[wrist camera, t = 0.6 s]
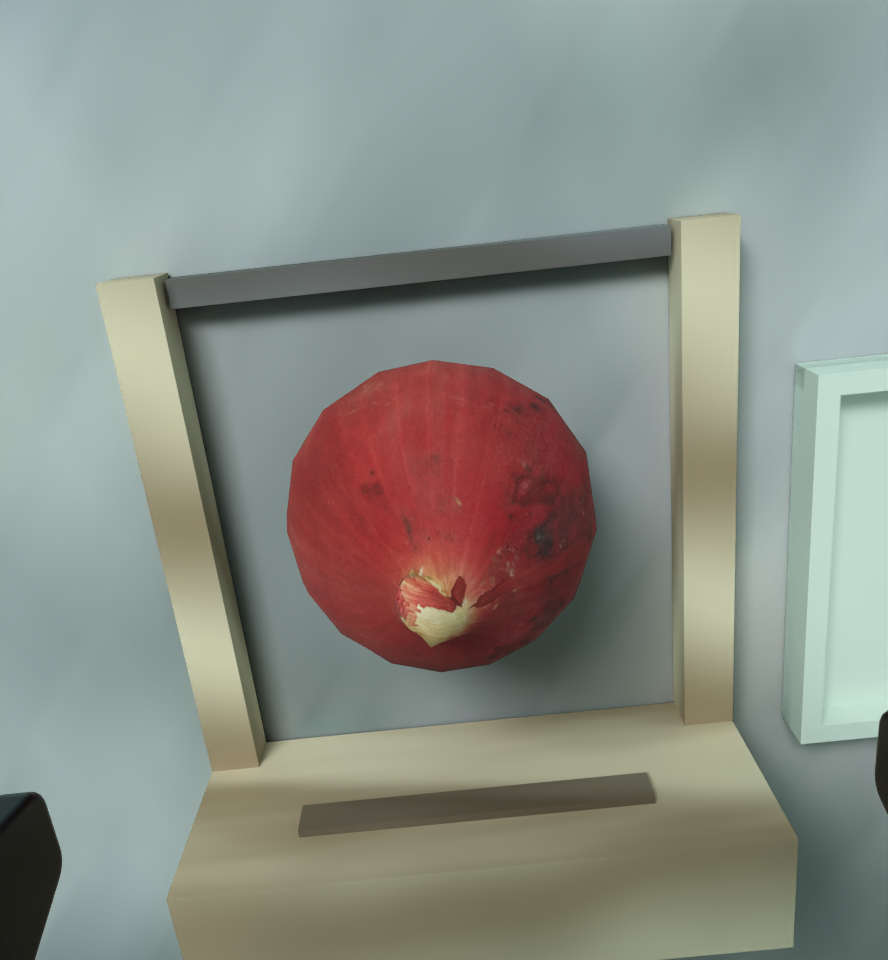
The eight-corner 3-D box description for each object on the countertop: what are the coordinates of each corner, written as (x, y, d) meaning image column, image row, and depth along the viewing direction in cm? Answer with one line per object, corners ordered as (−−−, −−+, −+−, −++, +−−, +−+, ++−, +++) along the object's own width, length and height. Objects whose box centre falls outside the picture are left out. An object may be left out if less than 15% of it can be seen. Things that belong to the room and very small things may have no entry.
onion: (541, 304, 19) (618, 392, 11) (580, 538, 20) (669, 749, 13) (285, 359, 19) (191, 481, 11) (348, 585, 21) (303, 817, 13)
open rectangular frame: (718, 790, 23) (793, 947, 18) (242, 836, 23) (194, 1002, 19) (724, 212, 18) (829, 225, 13) (112, 279, 18) (2, 315, 13)
